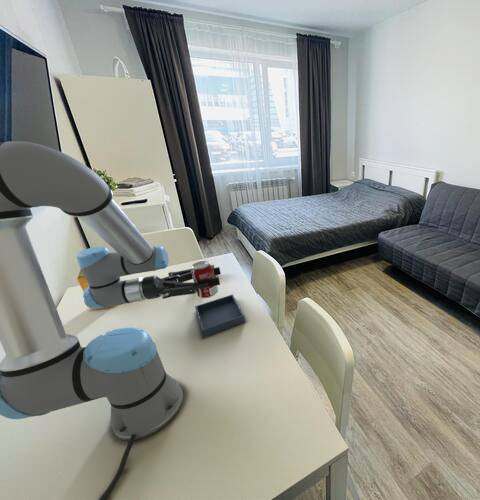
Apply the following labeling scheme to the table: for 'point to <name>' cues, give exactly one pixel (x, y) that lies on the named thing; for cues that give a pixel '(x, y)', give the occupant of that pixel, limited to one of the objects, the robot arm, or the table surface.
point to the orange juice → (83, 282)
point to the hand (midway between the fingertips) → (219, 275)
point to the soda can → (204, 272)
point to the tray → (219, 315)
